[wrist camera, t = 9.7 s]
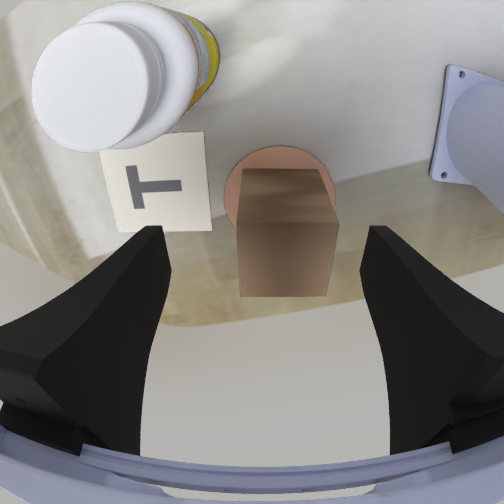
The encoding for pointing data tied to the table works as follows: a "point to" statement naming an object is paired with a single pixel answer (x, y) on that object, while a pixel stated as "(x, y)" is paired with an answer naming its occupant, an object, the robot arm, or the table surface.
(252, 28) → the table surface
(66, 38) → the supplement bottle
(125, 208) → the letter tile
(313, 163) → the pink rounded smooth part
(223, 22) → the table surface
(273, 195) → the walnut block
